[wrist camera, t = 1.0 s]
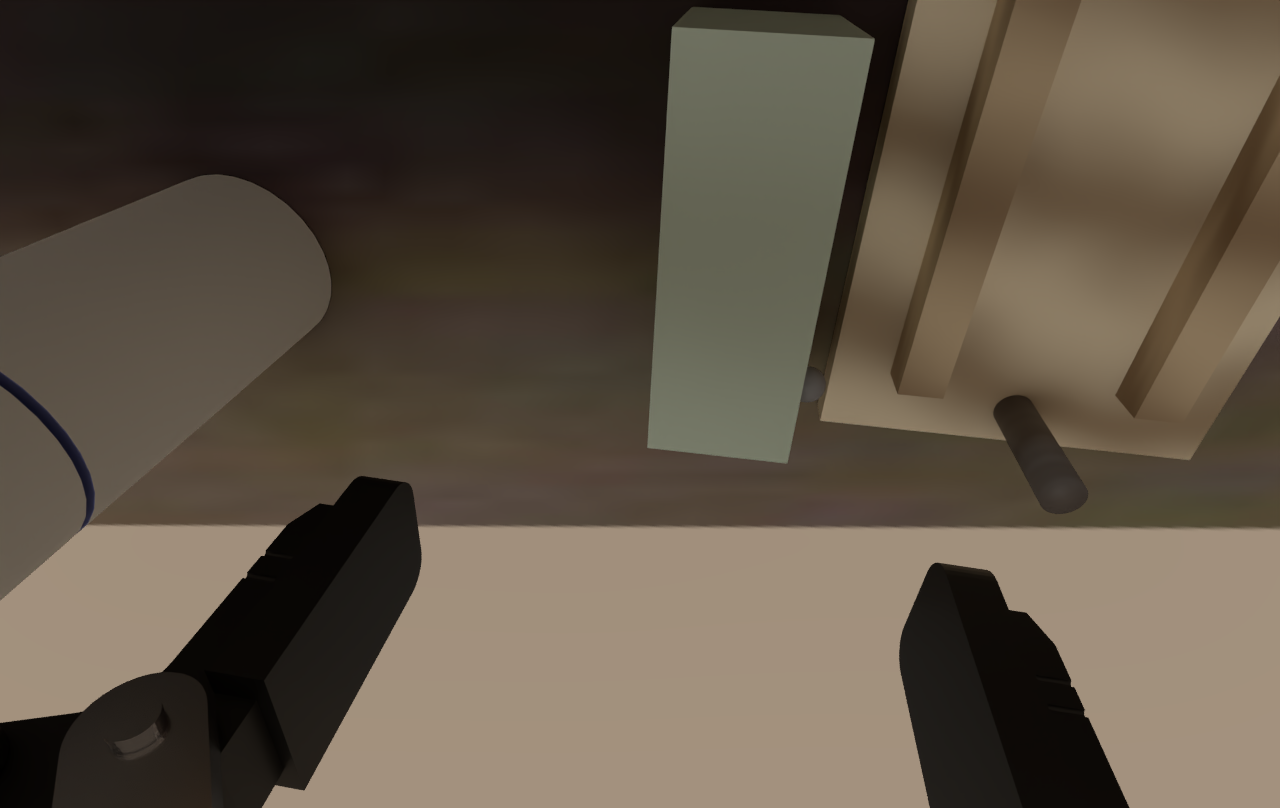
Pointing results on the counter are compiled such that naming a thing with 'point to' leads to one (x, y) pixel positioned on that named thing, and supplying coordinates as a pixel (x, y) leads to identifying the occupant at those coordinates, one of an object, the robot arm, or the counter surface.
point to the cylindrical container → (137, 345)
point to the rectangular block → (749, 222)
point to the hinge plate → (1066, 228)
